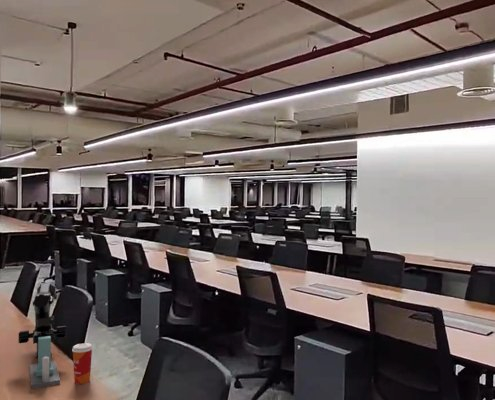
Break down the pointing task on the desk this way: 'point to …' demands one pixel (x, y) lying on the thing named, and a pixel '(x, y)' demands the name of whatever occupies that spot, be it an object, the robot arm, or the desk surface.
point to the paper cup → (82, 362)
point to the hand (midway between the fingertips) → (43, 352)
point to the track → (39, 379)
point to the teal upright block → (44, 354)
